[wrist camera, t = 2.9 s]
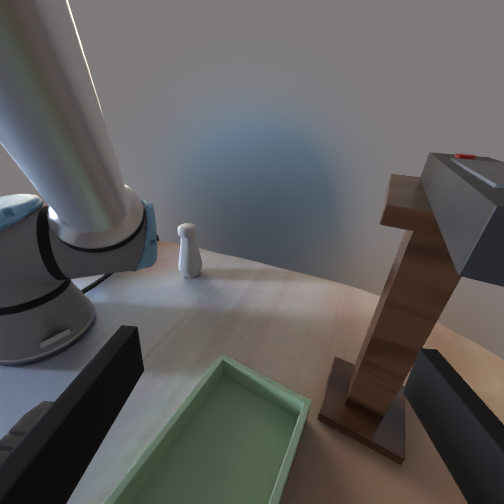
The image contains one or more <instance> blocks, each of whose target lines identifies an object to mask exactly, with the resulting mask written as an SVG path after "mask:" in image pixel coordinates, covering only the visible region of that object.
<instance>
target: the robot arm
mask: <svg viewBox="0 0 504 504" xmlns="http://www.w3.org/2000/svg"><path fill="white" fill-rule="evenodd" d="M0 143H1V144H2V146H3V147H4V148H5V150H6V151H7V152H8V153H9V155H10V156H11V157H12V159H13V160H14V161H15V162H16V164H17V165H18V166H19V167H20V169H21V170H22V171H23V173H24V174H25V175H26V176H27V178H28V179H29V180H30V181H31V183H32V184H33V185H34V186H35V188H36V189H37V190H38V192H39V193H40V194H41V195H42V197H43V198H44V199H45V200H46V202H47V203H48V204H49V206H44V205H43V201H42V200H41V199H40V198H39V197H38V196H37V195H34V194H30V195H29V194H16V195H8V196H2V197H0V365H2V366H20V365H26V364H31V363H34V362H38V361H41V360H44V359H46V358H49V357H51V356H54V355H56V354H58V353H60V352H62V351H63V350H65V349H67V348H68V347H70V346H72V345H73V344H74V343H76V342H77V341H78V340H80V339H81V338H82V337H83V336H84V335H85V334H86V333H87V332H88V331H89V329H90V328H91V327H92V325H93V323H94V321H95V316H96V313H95V309H94V307H93V304H92V303H91V301H90V300H89V299H88V298H87V297H86V296H85V295H84V294H85V293H86V292H88V291H89V290H91V289H93V288H94V287H96V286H97V285H99V284H100V283H101V282H103V281H104V280H105V279H107V278H108V277H109V276H111V275H112V274H114V273H117V272H124V271H136V270H138V269H142V268H148V267H151V266H152V265H154V263H155V262H156V259H157V241H159V237H158V235H157V233H156V222H155V213H154V208H153V205H152V203H151V202H150V201H148V200H143V199H142V200H141V199H140V198H139V196H138V195H137V193H136V192H135V191H133V190H132V189H131V188H130V187H128V186H127V185H125V184H124V181H123V178H122V175H121V171H120V168H119V165H118V162H117V158H116V155H115V152H114V149H113V145H112V142H111V139H110V136H109V133H108V129H107V126H106V123H105V120H104V117H103V113H102V110H101V107H100V103H99V100H98V97H97V94H96V91H95V88H94V84H93V81H92V78H91V74H90V71H89V68H88V65H87V62H86V58H85V55H84V52H83V48H82V45H81V42H80V39H79V36H78V33H77V29H76V26H75V23H74V20H73V16H72V13H71V10H70V6H69V3H68V0H0ZM102 274H105V275H104V276H102V277H101V278H99V279H98V280H96V281H95V282H93V283H92V284H90V285H89V286H87V287H85V288H84V289H82V290H80V289H79V288H78V287H77V286H76V285H75V284H74V283H73V282H72V281H71V279H74V278H81V277H88V276H95V275H102ZM143 371H144V366H143V360H142V353H141V347H140V340H139V334H138V327H135V326H121V327H120V328H119V329H118V330H117V331H116V333H115V334H114V335H113V336H112V337H111V338H110V339H109V341H108V342H107V343H106V344H105V345H104V346H103V347H102V348H101V350H100V351H99V352H98V353H97V354H96V355H95V356H94V358H93V359H92V360H91V361H90V362H89V363H88V364H87V366H86V367H85V368H84V369H83V370H82V371H81V372H80V374H79V375H78V376H77V377H76V378H75V379H74V380H73V381H72V383H71V384H70V385H69V386H68V387H67V388H66V389H65V391H64V392H63V393H62V394H61V395H60V396H59V397H58V399H57V400H56V401H55V402H50V401H43V402H42V403H40V404H39V405H37V406H36V407H35V408H33V409H32V410H30V411H29V412H28V413H26V414H25V415H24V416H23V417H22V418H21V419H20V420H19V421H18V422H17V423H16V424H15V425H14V426H13V427H12V428H11V430H10V431H9V433H8V434H7V435H5V436H4V437H3V438H2V439H1V440H0V504H66V503H67V501H68V500H69V498H70V496H71V494H72V493H73V491H74V489H75V488H76V486H77V484H78V482H79V481H80V479H81V477H82V476H83V474H84V472H85V471H86V469H87V467H88V465H89V464H90V462H91V460H92V459H93V457H94V455H95V453H96V452H97V450H98V448H99V447H100V445H101V443H102V441H103V440H104V438H105V436H106V435H107V433H108V431H109V430H110V428H111V426H112V424H113V423H114V421H115V419H116V418H117V416H118V414H119V412H120V411H121V409H122V407H123V406H124V404H125V402H126V400H127V399H128V397H129V395H130V394H131V392H132V390H133V389H134V387H135V385H136V383H137V382H138V380H139V378H140V377H141V375H142V373H143ZM403 393H404V394H405V396H406V398H407V399H408V401H409V403H410V405H411V406H412V408H413V410H414V412H415V413H416V415H417V417H418V418H419V420H420V422H421V424H422V425H423V427H424V429H425V430H426V432H427V434H428V436H429V437H430V439H431V441H432V442H433V444H434V446H435V448H436V449H437V451H438V453H439V454H440V456H441V458H442V460H443V461H444V463H445V465H446V466H447V468H448V470H449V472H450V473H451V475H452V477H453V478H454V480H455V482H456V484H457V485H458V487H459V489H460V491H461V492H462V494H463V496H464V497H465V499H466V501H467V503H468V504H504V425H503V424H502V422H501V421H500V420H499V419H498V418H497V417H496V416H495V415H494V413H493V412H492V411H491V410H490V409H489V408H488V407H487V406H486V404H485V403H484V402H483V401H482V400H481V399H480V398H479V397H478V395H477V394H476V393H475V392H474V391H473V390H472V389H471V388H470V386H469V385H468V384H467V383H466V382H465V381H464V380H463V379H462V377H461V376H460V375H459V374H458V373H457V372H456V371H455V370H454V368H453V367H452V366H451V365H450V364H449V363H448V362H447V361H446V359H445V358H444V357H443V356H442V355H441V354H440V353H439V352H438V350H436V349H423V348H419V351H418V353H417V356H416V359H415V362H414V364H413V367H412V370H411V372H410V375H409V378H408V380H407V383H406V386H405V388H404V391H403Z"/></svg>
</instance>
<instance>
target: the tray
mask: <svg viewBox="0 0 504 504" xmlns="http://www.w3.org/2000/svg"><path fill="white" fill-rule="evenodd" d="M311 402H312V400H310V399H308V398H306V397H304V396H302V395H300V394H299V393H297V392H295V391H293V390H291V389H289V388H287V387H285V386H283V385H281V384H279V383H277V382H276V381H274V380H272V379H270V378H268V377H266V376H264V375H262V374H260V373H258V372H256V371H254V370H253V369H251V368H249V367H247V366H245V365H243V364H241V363H239V362H237V361H235V360H233V359H231V358H230V357H228V356H226V355H224V354H221V355H220V356H219V358H218V359H217V360H216V362H215V363H214V364H213V365H212V367H211V368H210V369H209V370H208V372H207V373H206V374H205V375H204V377H203V378H202V379H201V381H200V382H199V383H198V384H197V386H196V387H195V388H194V389H193V391H192V392H191V393H190V394H189V396H188V397H187V398H186V400H185V401H184V402H183V403H182V405H181V406H180V407H179V408H178V410H177V411H176V412H175V413H174V415H173V416H172V417H171V419H170V420H169V421H168V422H167V424H166V425H165V426H164V427H163V429H162V430H161V431H160V432H159V434H158V435H157V436H156V438H155V439H154V440H153V441H152V443H151V444H150V445H149V446H148V448H147V449H146V450H145V451H144V453H143V454H142V455H141V457H140V458H139V459H138V460H137V462H136V463H135V464H134V465H133V467H132V468H131V469H130V470H129V472H128V473H127V474H126V476H125V477H124V478H123V479H122V481H121V482H120V483H119V484H118V486H117V487H116V488H115V489H114V491H113V492H112V493H111V494H110V496H109V497H108V498H107V500H106V501H105V502H104V503H103V504H280V501H281V498H282V495H283V492H284V489H285V486H286V482H287V479H288V476H289V473H290V470H291V467H292V464H293V461H294V457H295V454H296V451H297V448H298V445H299V442H300V439H301V436H302V432H303V429H304V426H305V423H306V420H307V416H308V413H309V409H310V406H311Z"/></svg>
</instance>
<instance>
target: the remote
mask: <svg viewBox="0 0 504 504" xmlns="http://www.w3.org/2000/svg"><path fill="white" fill-rule="evenodd" d="M420 181H421V183H422V186H423V188H424V191H425V193H426V196H427V198H428V201H429V203H430V206H431V208H432V211H433V213H434V216H435V218H436V221H437V223H438V226H439V228H440V231H441V233H442V236H443V238H444V241H445V243H446V246H447V248H448V251H449V253H450V256H451V258H452V261H453V263H454V266H455V268H456V271H457V273H458V275H459V276H462V277H467V278H471V279H474V280H479V281H483V282H487V283H491V284H495V285H499V286H503V287H504V162H501V161H498V160H495V159H491V158H489V157H478V156H476V155H469V154H456V155H454V154H441V153H429V156H428V158H427V161H426V164H425V166H424V169H423V172H422V175H421V177H420Z"/></svg>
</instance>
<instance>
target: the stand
mask: <svg viewBox="0 0 504 504" xmlns="http://www.w3.org/2000/svg"><path fill="white" fill-rule="evenodd" d="M380 225H385V226H390V227H396V228H400V229H405V230H406V231H405V233H404V236H403V239H402V241H401V244H400V246H399V249H398V252H397V254H396V257H395V260H394V263H393V265H392V268H391V271H390V273H389V276H388V278H387V281H386V284H385V286H384V289H383V292H382V294H381V297H380V299H379V302H378V305H377V307H376V310H375V313H374V315H373V318H372V321H371V323H370V326H369V329H368V331H367V334H366V337H365V339H364V342H363V344H362V347H361V350H360V352H359V355H358V358H357V360H356V363H355V365H354V364H351V363H349V362H347V361H344V360H342V359H340V358H337V357H335V358H334V361H333V364H332V368H331V372H330V375H329V379H328V382H327V386H326V389H325V393H324V396H323V400H322V403H321V407H320V410H319V414H318V417H317V419H318V420H320V421H322V422H324V423H326V424H327V425H329V426H331V427H333V428H335V429H337V430H338V431H340V432H342V433H344V434H346V435H347V436H349V437H351V438H353V439H355V440H357V441H358V442H360V443H362V444H364V445H366V446H368V447H369V448H371V449H373V450H375V451H377V452H379V453H380V454H382V455H384V456H386V457H388V458H389V459H391V460H393V461H395V462H397V463H399V464H400V465H401V464H402V463H403V462H404V460H405V459H406V458H405V402H404V393H403V391H404V386H402V384H403V382H404V380H405V378H406V376H407V374H408V373H409V371H410V369H411V367H412V365H413V364H414V362H415V359H416V356H417V353H418V351H419V348H422V347H423V345H424V344H425V342H426V340H427V338H428V336H429V335H430V333H431V331H432V329H433V327H434V326H435V324H436V322H437V320H438V318H439V316H440V315H441V313H442V311H443V309H444V307H445V305H446V304H447V302H448V300H449V298H450V297H451V295H452V293H453V291H454V289H455V287H456V286H457V284H458V282H459V280H460V278H461V277H462V276H459V275H458V273H457V271H456V268H455V266H454V263H453V261H452V258H451V256H450V253H449V251H448V248H447V246H446V243H445V241H444V238H443V236H442V233H441V231H440V228H439V226H438V223H437V221H436V218H435V216H434V213H433V211H432V208H431V206H430V203H429V201H428V198H427V196H426V193H425V191H424V188H423V186H422V183H421V181H420V177H412V176H404V175H395V174H391V176H390V180H389V183H388V186H387V190H386V195H385V200H384V204H383V209H382V214H381V219H380Z"/></svg>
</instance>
